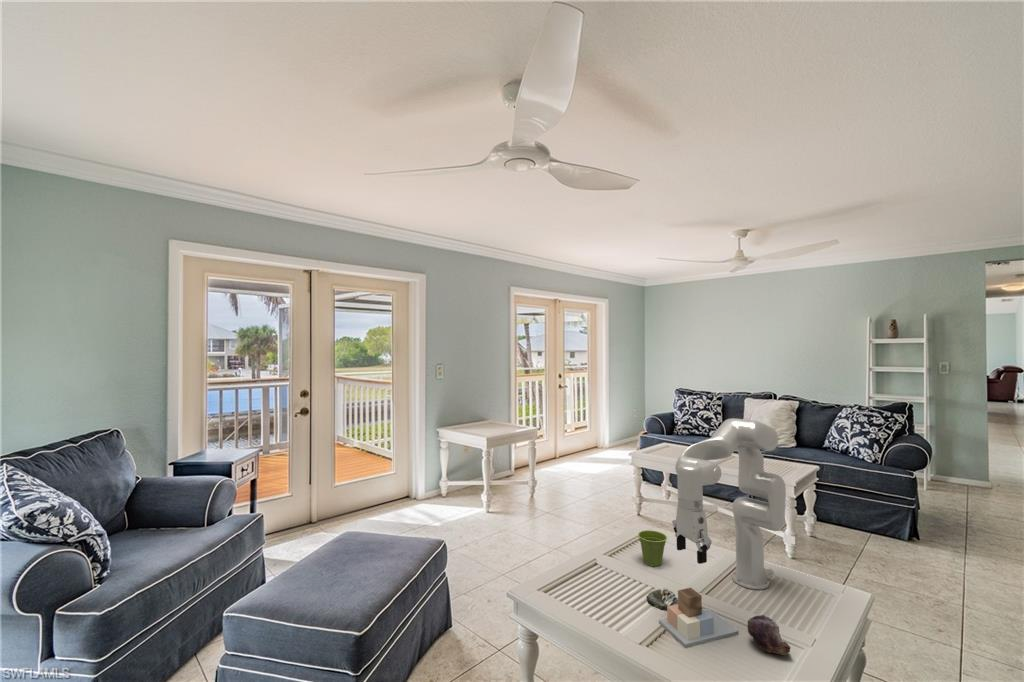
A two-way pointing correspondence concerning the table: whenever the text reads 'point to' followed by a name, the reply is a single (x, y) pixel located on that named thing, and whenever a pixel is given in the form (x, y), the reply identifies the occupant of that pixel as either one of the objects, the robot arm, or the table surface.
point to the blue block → (706, 623)
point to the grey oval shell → (662, 599)
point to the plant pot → (652, 546)
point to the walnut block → (690, 602)
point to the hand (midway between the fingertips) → (691, 555)
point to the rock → (767, 635)
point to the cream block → (688, 626)
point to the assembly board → (720, 631)
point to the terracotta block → (673, 615)
